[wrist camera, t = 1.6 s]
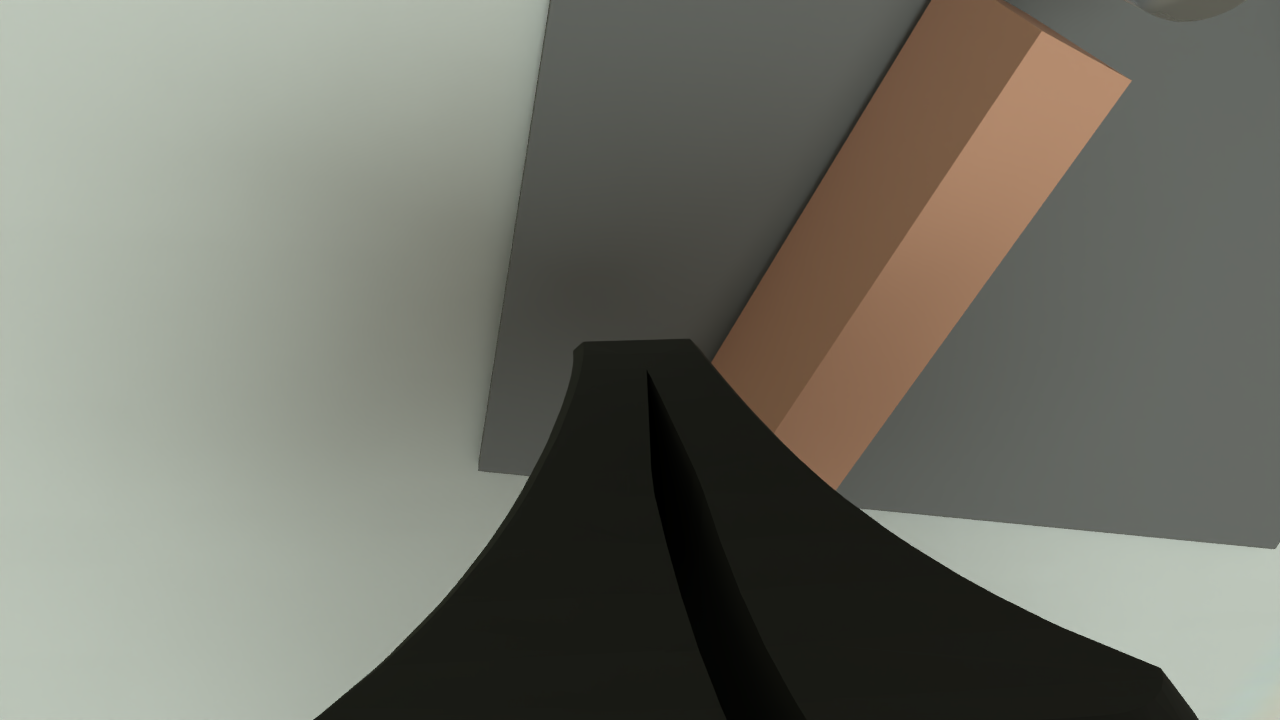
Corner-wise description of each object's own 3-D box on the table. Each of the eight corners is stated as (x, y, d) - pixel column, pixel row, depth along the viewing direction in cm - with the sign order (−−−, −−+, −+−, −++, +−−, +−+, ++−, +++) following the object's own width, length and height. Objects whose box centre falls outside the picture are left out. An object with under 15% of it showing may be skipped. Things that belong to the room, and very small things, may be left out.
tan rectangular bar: (934, -38, 17) (1024, 21, 14) (1041, 20, 18) (1147, 89, 15) (651, 434, 22) (673, 556, 19) (745, 466, 22) (781, 589, 19)
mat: (1267, 540, 26) (1274, 549, 26) (478, 462, 22) (478, 471, 22) (1745, -186, 18) (1763, -185, 17) (625, -492, 14) (628, -495, 14)
